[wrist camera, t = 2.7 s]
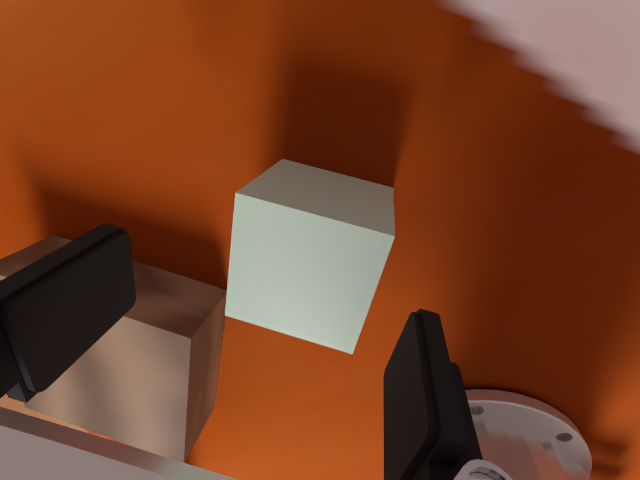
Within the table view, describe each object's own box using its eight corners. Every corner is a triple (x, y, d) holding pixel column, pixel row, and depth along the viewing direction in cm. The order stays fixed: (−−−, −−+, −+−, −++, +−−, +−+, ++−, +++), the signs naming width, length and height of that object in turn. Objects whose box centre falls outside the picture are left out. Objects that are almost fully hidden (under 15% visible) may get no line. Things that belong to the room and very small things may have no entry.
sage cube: (393, 187, 17) (394, 236, 11) (362, 280, 19) (352, 354, 14) (282, 158, 17) (235, 192, 12) (268, 253, 20) (224, 315, 15)
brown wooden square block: (230, 287, 22) (190, 338, 18) (215, 404, 28) (183, 464, 24) (59, 232, 23) (-20, 268, 18) (80, 357, 29) (25, 407, 25)
